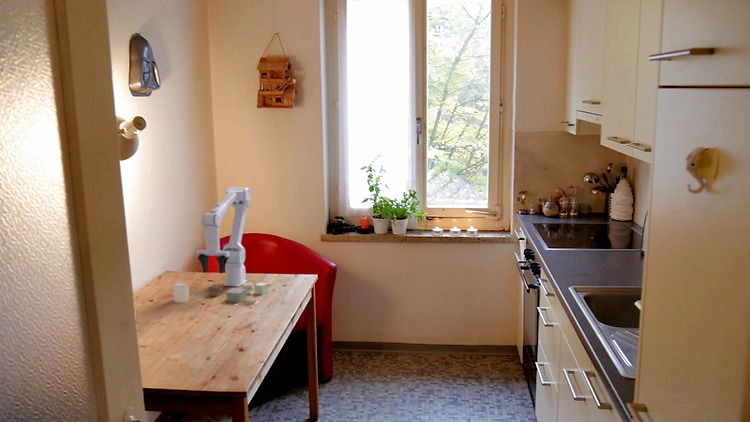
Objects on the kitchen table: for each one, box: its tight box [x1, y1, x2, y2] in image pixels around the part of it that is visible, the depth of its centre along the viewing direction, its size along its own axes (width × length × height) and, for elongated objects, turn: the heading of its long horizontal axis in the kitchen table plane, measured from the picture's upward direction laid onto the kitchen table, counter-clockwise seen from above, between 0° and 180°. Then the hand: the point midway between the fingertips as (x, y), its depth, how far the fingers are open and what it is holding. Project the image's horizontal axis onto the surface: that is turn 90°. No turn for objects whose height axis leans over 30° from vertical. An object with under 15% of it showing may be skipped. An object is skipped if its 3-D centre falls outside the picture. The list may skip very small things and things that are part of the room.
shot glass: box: [171, 281, 190, 304], centre depth 278 cm, size 7×7×7 cm
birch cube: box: [241, 281, 255, 295], centre depth 288 cm, size 4×4×4 cm
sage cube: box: [254, 281, 269, 296], centre depth 287 cm, size 4×4×4 cm
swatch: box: [234, 299, 260, 308], centre depth 273 cm, size 7×7×1 cm
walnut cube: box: [208, 283, 223, 297], centre depth 286 cm, size 4×4×4 cm
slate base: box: [225, 287, 248, 303], centre depth 279 cm, size 6×6×4 cm
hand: (213, 272), depth 283 cm, fingers open, 7 cm apart
